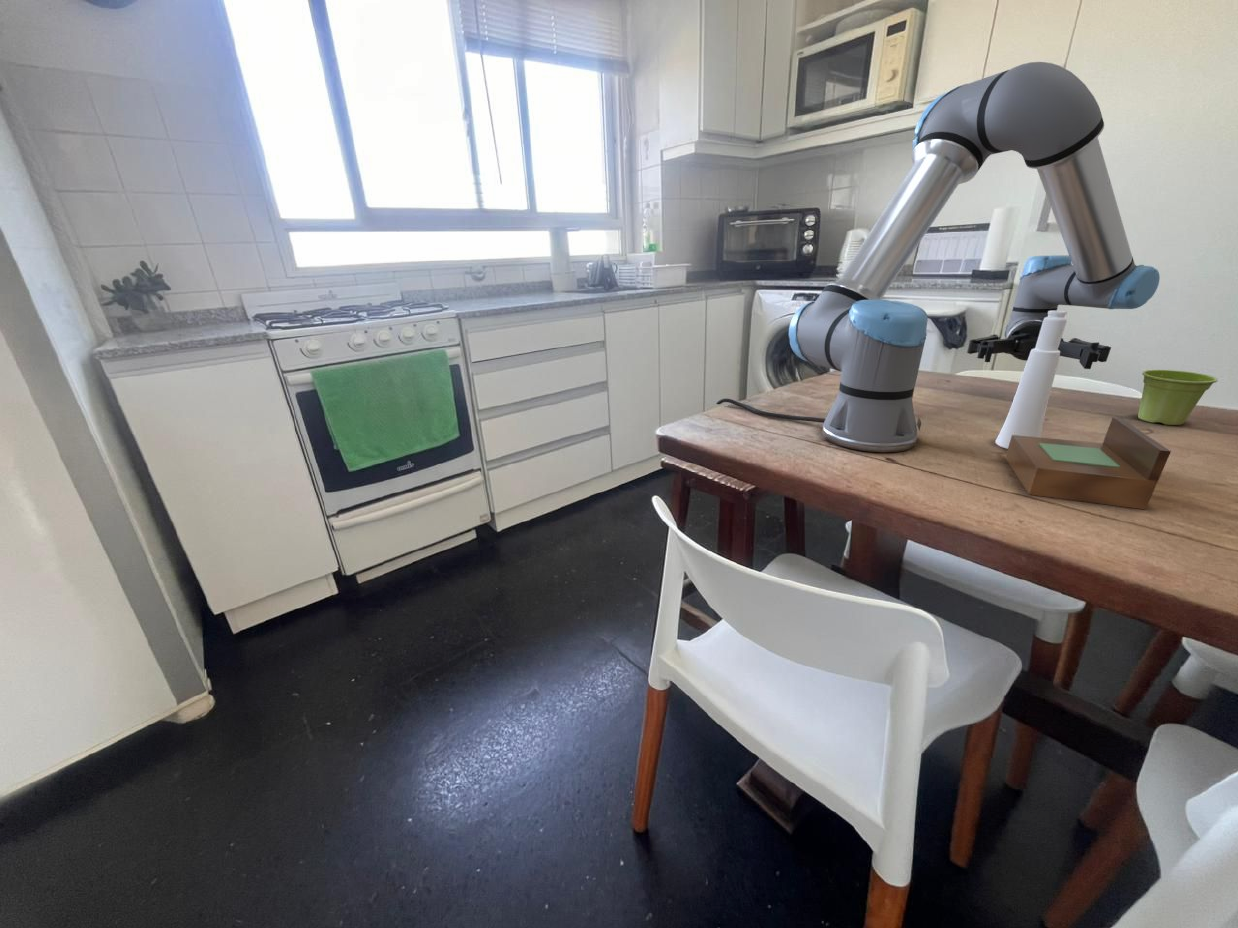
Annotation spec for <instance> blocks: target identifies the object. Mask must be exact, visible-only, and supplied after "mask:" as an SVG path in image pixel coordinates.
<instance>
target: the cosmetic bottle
mask: <svg viewBox="0 0 1238 928" xmlns="http://www.w3.org/2000/svg"><path fill="white" fill-rule="evenodd" d="M1067 314H1068V311H1066V310H1058V309H1057V310H1053V311H1048V317H1045V318H1044V320H1043V323H1042V326H1041V330H1040V333H1039V337H1038V340H1037V343H1036V347H1035V348H1034V349H1032V350H1031V352H1030V354H1029V357H1028V360H1027V361H1026V363H1025V366H1024V369H1023V371H1022V374H1021V377H1020V380H1019V383H1018V386H1017V389H1016V391H1015V395H1014V397H1013V401H1012V403H1011V406H1010V408H1009V411H1008V413H1007V416H1006V418H1005V421H1004V423H1003V425H1002V427H1001V430H1000V431H999V433H998V436H997V437H996V439H995V441H994V442H995V444H996V445H997V446H998V447H1001V448H1004V449H1005V450H1008V447H1009V443H1010V440H1011V437H1012V435H1018V436H1029V437H1040V438H1042V433H1043V427H1044V421H1045V417H1046V412H1047V407H1048V404H1049V400H1050V397H1051V396H1050V395H1051V392H1052V388H1053V386H1054V385H1053V384H1054V380H1055V377H1056V373H1057V369H1058V364H1059V360H1060V357H1061V356H1060V351H1059V350H1058V347H1059V344H1060V341H1061V338H1062V337H1063V334H1064V332H1065V328H1066V324H1067V321H1068V319H1067V317H1066V315H1067Z"/></svg>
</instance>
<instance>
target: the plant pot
mask: <svg viewBox="0 0 1238 928" xmlns="http://www.w3.org/2000/svg"><path fill="white" fill-rule="evenodd" d="M1141 374H1142V375H1143V389H1142V394H1141V398H1140V403H1139V408H1138V413H1137V417H1138V419H1139V420H1141V421H1145V422H1147V423H1152V424H1153V423H1161V424H1163V425H1165V426H1181V425H1184V423H1186V421H1187V419H1188V417H1189V416H1190V415H1191V413H1192V412H1193V410H1194V409H1195V407H1196V406H1197V404H1198V403H1199V401H1200V400H1201V399H1202V397H1203V396H1204V394H1205V393H1206V391H1208V390H1209V389H1210V388H1211V386H1212V385H1213V384H1215V383H1217V382H1218V381H1219V378H1217V377H1215V376H1213V375H1209V374H1205V373H1200V372H1192V371H1185V370H1173V369H1171V370H1170V369H1148V370H1143V371H1142V373H1141Z"/></svg>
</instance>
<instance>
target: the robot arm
mask: <svg viewBox="0 0 1238 928" xmlns="http://www.w3.org/2000/svg"><path fill="white" fill-rule="evenodd" d="M1104 129H1105V121H1104V118H1103V114H1102V112H1101V108H1100V106H1099V103H1098V101H1097V100H1096V98H1095V96H1094V95H1093V93H1092V92H1091V90H1090V89H1089V88H1088V86H1087V85H1086V84H1085V83H1084V82H1083V81H1082V80H1081V79H1080V78H1079V77H1078V76H1077V75H1076V74H1074V73H1073V72H1072V71H1071V70H1068V69H1067V68H1065V67H1063V66H1061V65H1058V64H1055V63H1052V62H1046V61H1032V62H1026V63H1022V64H1019V65H1017V66H1014V67H1012V68H1010V69H1007V70H1004V71H1001V72H998V73H995V74H992V75H989V76H987V77H984V78H981V79H977V80H975V81H972V82H969V83H964V84H961V85H959V86H956V87H954V88H952V89H950V90H949V91H947V92H945V93H942V94H941V95H939V96H938V97H936V98H935V99H934V100H933V101H932V102H931V103H929V105H928V106H927V107H926V108H925V109H924V111H923V112H922V113H921V115H920V117H919V119H918V120H917V123H916V126H915V128H914V135H915V139H913V140H912V148H913V150H912V151H911V161H912V164H913V165H912V167H911V168H910V170H909V171H908V173H907V174H906V175H905V177H904V179H903V180H902V181H901V184H900V185H899V186H898V188H897V190H896V191H895V193H894V195H893V196H892V197H891V199H890V201H889V202H888V204H887V205H886V207H885V208H884V209H883V211H882V213H881V215H880V216H879V217H878V219H877V221H876V222H875V223H874V225H873V227H872V228H871V229H870V231H869V232H868V234H867V236H866V237H865V239H864V241H863V242H862V244H861V245H860V247H859V249H858V250H857V251H856V253H855V255H854V256H853V257H852V259H851V260H850V262H849V264H848V265H847V267H846V268H845V269H844V271H843V273H842V274H841V276H840V278H839V279H838V280H837V281H834V282H830V283H827V284H826V285H825V286H824V288H823V290H821V293H820V294H819V295H818V296H817V298H816V300H815V301H813V300H812V301H810V302H807V303H805V304H803V305H801V306H800V307H799V308H798V309H797V310H796V312H795V313H794V314H793V316H792V318H791V320H790V323H789V328H788V338H789V345H790V348H791V350H792V352H793V353H794V354H795V356H796V357H798V358H799V359H801V360H803V361H805V362H808V363H809V364H811V365H812V366H813V365H814V366H817V367H818V366H820V367H823V368H826V369H827V368H828V369H830V370H834V371H838V372H839V373H840V372H841V373H840V380H839V387H838V393H837V396H836V397H835V399H834V402H833V403H832V406H831V407H830V409H829V411H828V413H827V415H826V417H824V418H823V417H813V416H804V415H803V416H801V415H791V414H784V413H777V412H776V413H775V412H769V411H765V410H760V409H757V408H755V407H752V406H751V405H748V404H745V403H743V402H742V403H741V402H739V401H738V400H734V399H731V398H721V399H719V400H717V402H716V404H715V405H721V404H723V403H728V404H732V405H734V406H736V407H739V408H743V409H745V410H747V411H750V412H752V413H755V414H757V415H760V416H764V417H765V416H766V417H770V418H776V419H784V420H793V421H801V422H802V421H804V422H805V421H806V422H814V423H823V424H822V430H821V431H822V432H821V434H822V437H823V438H824V439H826V440H827V441H829V442H830V443H832V444H835V445H837V446H839V447H844V448H847V449H852V450H856V451H861V452H862V451H863V452H870V453H895V452H896V453H897V452H903V451H906V450H910V449H912V448H913V447H915V445H916V442H917V438H918V431H919V432H920V431H921V427H922V420H921V419H920V417H919V416H918V417H917V421H916V416H915V410H914V403H913V397H914V392H915V388H916V384H917V379H918V375H919V370H920V365H921V362H922V361H921V360H922V356H923V353H924V352H923V351H924V348H925V344H926V343H925V342H926V340H927V336H928V334H927V333H928V332H927V327H928V320H929V319H928V314H927V312H926V310H924V309H923V308H922V307H920V306H918V305H916V304H912V303H908V302H903V301H897V300H888V299H883V298H884V296H885V295H886V293H887V292H888V290H889V289H890V288H891V286H892V284H893V283H894V282H895V280H896V278H897V277H898V276H899V274H900V273H901V271H902V270H903V268H904V266H905V265H906V264H907V262H908V261H909V259H910V257H911V256H912V255H913V253H914V252H915V250H916V249H917V248H918V246H919V244H920V242H921V241H922V240H923V238H924V237H925V235H926V234H927V232H928V231H929V230H930V228H931V226H932V225H933V223H935V221H936V219H937V217H939V214H940V213H941V212H942V210H943V208H944V207H945V205H947V202H948V201H949V200H950V198H951V196H952V195H953V193H954V192H955V190H956V189H957V187H958V186H959V185H962V184H966V183H968V182H970V181H971V180H972V179H974V178H975V177H976V175H977V174H978V172H979V170H980V169H981V168H982V166H983V165H984V164H985V162H986V160H987V159H988V158H989V157H990V156H991V155H996V154H1000V153H1001V154H1002V153H1004V152H1010V151H1012V152H1016V153H1018V154H1020V155H1021V156H1022V158H1023V160H1024V164H1025V167H1027V168H1029V169H1032V170H1033V169H1035V170H1036V171H1037V174H1038V177H1039V179H1040V182H1041V184H1042V187H1043V189H1044V192H1045V195H1046V198H1047V200H1048V203H1049V206H1050V208H1051V211H1052V214H1053V216H1054V219H1055V221H1056V224H1057V227H1058V230H1059V232H1060V235H1061V238H1062V241H1063V243H1064V246H1065V249H1066V251H1067V253H1068V254H1066V255H1064V254H1061V255H1060V254H1059V255H1058V254H1057V255H1056V254H1053V255H1052V254H1051V255H1033V256H1030V257H1029V258H1027V260H1026V261H1025V264H1024V267H1023V269H1022V273H1021V275H1020V276H1019V283H1018V285H1017V286H1018V287H1017V289H1016V294H1015V297H1014V302H1013V307H1012V310H1011V313H1010V315H1009V320H1008V324H1007V325H1006V327H1005V331H1004V337H1005V338H1001V335H999V334H995V333H994V334H991V335H989V336H984V337H979V338H973V339H969V341H968V342H969V343H968V347H967V351H966V353H967V354H970V355H972V354H977V356H976V358H977V359H982V360H984V363H991V359H992V355H995V354H1005V355H1006V354H1007V355H1011V356H1012V357H1013V358H1015V359H1017V360H1019V361H1026V362H1027V360H1028V357H1029V354H1030V352H1031V350H1032V349H1034V348H1035V347H1036V343H1037V340H1038V337H1039V333H1040V330H1041V326H1042V323H1043V320H1044V318H1045V317H1048V311H1053V310H1058V308H1059V306H1073V307H1083V308H1093V309H1094V308H1095V309H1105V310H1106V309H1107V310H1135V309H1138V308H1141V307H1142V306H1144V305H1145V304H1147V303H1148V302H1149V300H1151V298H1152V297H1154V295H1155V293H1156V292H1157V289H1158V287H1159V284H1160V279H1161V278H1160V272H1159V270H1158V269H1157V268H1155V267H1154V266H1152V265H1151V266H1150V265H1144V264H1139V265H1136V263H1135V260H1134V257H1133V255H1132V252H1131V248H1130V244H1129V241H1128V237H1127V233H1126V231H1125V226H1124V223H1123V219H1122V215H1121V213H1120V209H1119V206H1118V203H1117V200H1116V196H1115V192H1114V189H1113V186H1112V185H1113V184H1112V181H1111V178H1110V175H1109V171H1108V168H1107V164H1106V161H1105V157H1104V154H1103V151H1102V148H1101V147H1102V146H1101V144H1100V140H1099V137H1100V135H1101V134H1102V132H1103V131H1104ZM1111 349H1112V346H1109V345H1103V344H1100V342H1091V341H1090V342H1089V341H1086V340H1082V339H1080V338H1076V337H1073V338H1070V339H1069V340H1068V341H1065V340H1064V338H1061V341H1060V344H1059V347H1058V350H1059V351H1060V356H1059V357H1063V358H1069V359H1074V360H1079V361H1078V363H1080V365H1081V366H1082V368H1083V369H1084V370H1091V368H1092V366H1093V363H1097V362H1099V363H1106V362H1107V360H1108V358H1109V355H1110V352H1111Z"/></svg>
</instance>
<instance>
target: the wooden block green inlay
mask: <svg viewBox="0 0 1238 928" xmlns="http://www.w3.org/2000/svg"><path fill="white" fill-rule="evenodd" d="M1006 450H1007V451H1006V454H1005V457H1004V459H1005V460H1006V462H1007V464H1008V465H1009V466H1010V468H1011V469H1012V471H1013V472H1014V474H1015V475H1016V477H1017V479H1018V480H1019V482H1020V483H1021V484H1022V486H1023V488H1024V489H1025V491H1026V492H1027V494H1028V495H1029V496H1030V495H1031V496H1036V497H1037V496H1039V497H1044V498H1045V497H1046V498H1054V499H1059V500H1068V501H1076V502H1085V503H1091V504H1101V505H1107V506H1115V507H1122V508H1129V509H1130V508H1131V509H1139V510H1147V508H1148V505H1149V503H1150V501H1151V498H1152V496H1153V493H1154V492H1155V489H1156V487H1157V484H1158V483H1159V480H1160V478H1161V475H1162V473H1163V471H1164V469H1165V466H1166V464H1167V463H1168V462H1167V461H1168V459H1169V458H1170V455H1171V452H1172V450H1170V449H1168V448H1167V447H1165V446H1164V445H1162V444H1161V443H1159V442H1158V441H1156V440H1155V439H1154V438H1152V437H1150V436H1149V435H1147V434H1146V433H1144V432H1143V431H1141V430H1140V429H1139V428H1137V427H1136V426H1134V425H1132V424H1131V423H1129V422H1128V421H1126V420H1125V419H1124V418H1122V417H1114V416H1113V417H1112V418H1111V420H1110V423H1109V426H1108V428H1107V431H1106V434H1105V436H1104V439H1103V442H1095V441H1094V442H1093V441H1083V440H1071V439H1061V438H1059V439H1058V438H1051V437H1041V438H1040V437H1029V436H1018V435H1012V437H1011V440H1010V443H1009V447H1008V449H1006Z"/></svg>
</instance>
